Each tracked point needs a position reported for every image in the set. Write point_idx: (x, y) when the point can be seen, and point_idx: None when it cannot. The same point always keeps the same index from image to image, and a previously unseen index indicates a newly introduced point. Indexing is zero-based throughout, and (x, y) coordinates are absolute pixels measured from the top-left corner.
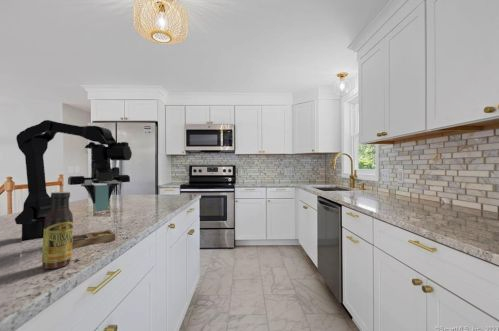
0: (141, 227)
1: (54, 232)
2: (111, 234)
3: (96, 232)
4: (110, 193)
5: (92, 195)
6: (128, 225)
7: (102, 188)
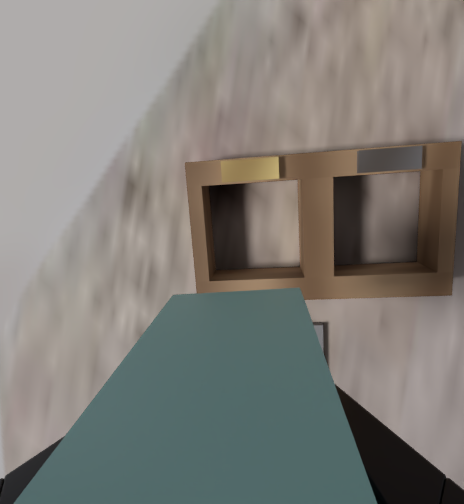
0: (28, 362)
1: None
2: (205, 171)
3: (273, 284)
4: (26, 473)
5: (402, 467)
6: None
7: None
